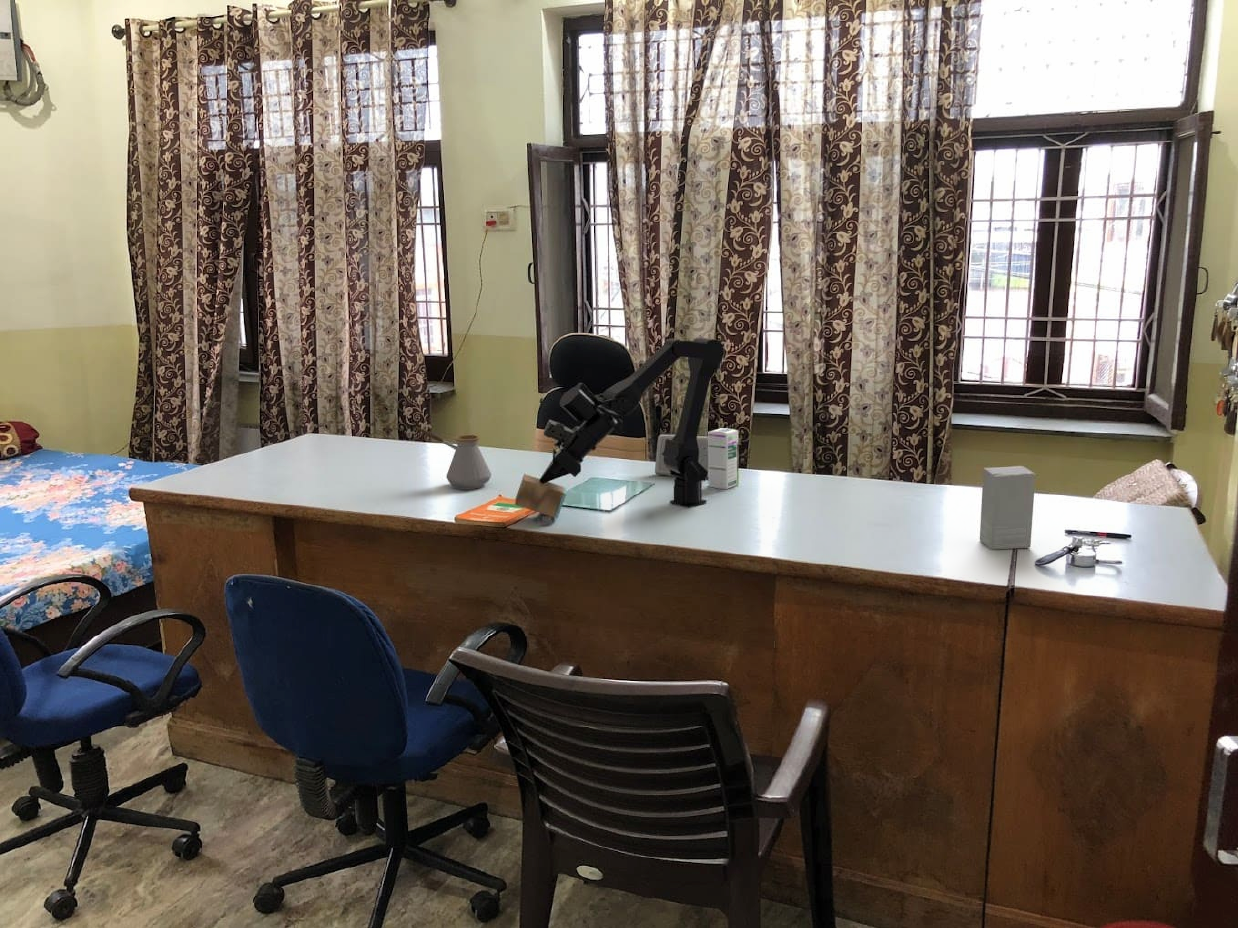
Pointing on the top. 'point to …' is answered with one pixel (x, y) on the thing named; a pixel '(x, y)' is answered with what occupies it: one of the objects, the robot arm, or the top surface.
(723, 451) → the syrup box
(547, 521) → the grey thin bar
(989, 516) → the skincare box
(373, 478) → the top surface
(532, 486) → the walnut block
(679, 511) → the top surface
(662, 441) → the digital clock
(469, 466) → the coffee pot
